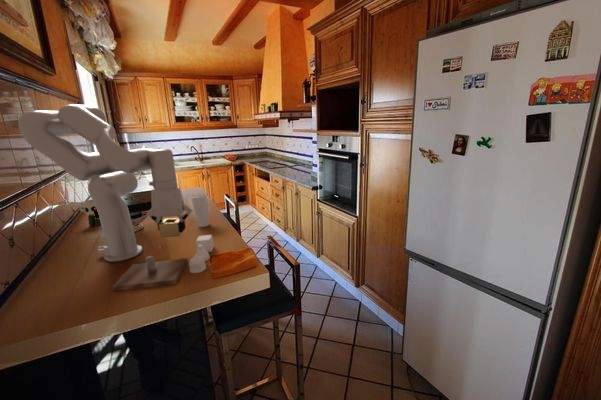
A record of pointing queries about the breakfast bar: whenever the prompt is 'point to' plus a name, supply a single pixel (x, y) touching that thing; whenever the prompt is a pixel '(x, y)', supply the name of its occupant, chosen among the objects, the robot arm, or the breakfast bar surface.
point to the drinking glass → (201, 209)
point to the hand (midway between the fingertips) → (172, 231)
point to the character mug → (90, 212)
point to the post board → (151, 274)
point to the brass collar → (170, 227)
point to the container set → (201, 253)
